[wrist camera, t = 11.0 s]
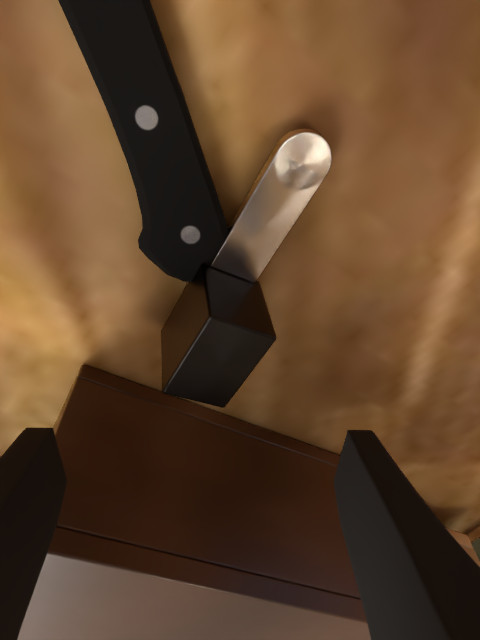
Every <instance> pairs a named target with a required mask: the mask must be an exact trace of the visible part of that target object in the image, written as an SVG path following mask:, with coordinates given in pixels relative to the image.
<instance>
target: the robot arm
mask: <svg viewBox="0 0 480 640" xmlns="http://www.w3.org/2000/svg"><path fill="white" fill-rule="evenodd" d="M333 481H334V488H335V494H336V501H337V507H338V513H339V519H340V524H341V528H342V532H343V535H344V539H345V543H346V547H347V550H348V554H349V558H350V561H351V565H352V568H353V572H354V576H355V579H356V583H357V587H358V590H359V594H360V598H361V601H362V605H363V608H364V612H365V616H366V620H367V624H368V628H369V633H370V637H371V640H480V567H479V566H478V564H477V563H476V562H475V561H474V560H473V559H472V558H471V557H470V556H469V554H468V553H467V552H466V551H465V550H464V549H463V548H462V546H461V545H460V544H459V543H458V542H457V541H456V539H455V538H454V537H453V536H452V535H451V534H450V532H449V531H448V530H447V529H446V528H445V526H444V525H443V524H442V523H441V522H440V520H439V519H438V518H437V517H436V515H435V514H434V513H433V512H432V510H431V509H430V508H429V507H428V505H427V504H426V503H425V501H424V500H423V499H422V498H421V496H420V495H419V494H418V493H417V491H416V490H415V489H414V487H413V486H412V485H411V483H410V482H409V481H408V479H407V478H406V477H405V475H404V474H403V472H402V471H401V470H400V468H399V467H398V466H397V464H396V463H395V462H394V460H393V459H392V457H391V456H390V455H389V453H388V452H387V450H386V449H385V447H384V446H383V445H382V443H381V442H380V440H379V439H378V437H377V436H376V435H375V433H374V432H373V431H372V430H348V431H347V435H346V438H345V442H344V445H343V449H342V452H341V456H340V459H339V463H338V466H337V470H336V473H335V477H334V480H333ZM66 484H67V477H66V474H65V470H64V467H63V463H62V459H61V456H60V452H59V449H58V445H57V441H56V438H55V434H54V431H53V428H26V429H25V430H24V431H23V432H22V433H21V434H20V435H19V436H18V438H17V439H16V440H15V441H14V442H13V443H12V445H11V446H10V447H9V448H8V449H7V450H6V452H5V453H4V454H3V455H2V456H1V457H0V640H17V639H18V636H19V633H20V629H21V626H22V623H23V620H24V617H25V614H26V612H27V609H28V606H29V603H30V600H31V598H32V595H33V592H34V589H35V586H36V583H37V581H38V578H39V575H40V572H41V569H42V567H43V564H44V561H45V558H46V555H47V552H48V549H49V547H50V544H51V541H52V538H53V535H54V532H55V529H56V526H57V523H58V519H59V515H60V511H61V507H62V503H63V498H64V493H65V489H66Z"/></svg>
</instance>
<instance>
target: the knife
mask: <svg viewBox="0 0 480 640" xmlns="http://www.w3.org/2000/svg"><path fill="white" fill-rule="evenodd" d="M331 162H332V152H331V148H330V146H329V144H328V142H327V141H326V140H325V138H324V137H323V136H322V135H321V134H320V133H318V132H317V131H315V130H312V129H307V128H302V129H296V130H293V131H291V132H289V133H287V134H286V135H285V136H283V137H282V138H281V139H280V140H279V142H278V143H277V145H276V146H275V148H274V150H273V151H272V153H271V155H270V157H269V158H268V160H267V162H266V164H265V165H264V167H263V169H262V170H261V172H260V174H259V176H258V177H257V179H256V181H255V183H254V184H253V186H252V188H251V190H250V191H249V193H248V195H247V197H246V198H245V200H244V202H243V203H242V205H241V207H240V209H239V210H238V212H237V214H236V216H235V217H234V219H233V221H232V223H231V224H230V226H229V228H228V233H227V235H226V238H225V240H224V242H223V244H222V246H221V248H220V249H219V251H218V253H217V255H216V257H215V258H214V260H213V262H212V264H211V266H209V265H206V264H203V263H202V264H201V265H200V267H199V269H198V271H197V272H196V274H195V276H194V278H193V280H192V281H191V282H188V284H187V286H186V287H185V289H184V291H183V293H182V295H181V296H180V298H179V300H178V302H177V303H176V305H175V307H174V309H173V311H172V312H171V314H170V316H169V318H168V319H167V321H166V323H165V325H164V327H163V328H162V330H161V354H162V392H163V393H165V394H169V395H173V396H177V397H181V398H185V399H189V400H194V401H198V402H202V403H206V404H210V405H214V406H218V407H222V408H223V407H225V406H226V405H227V403H228V402H229V401H230V399H231V398H232V397H233V396H234V394H235V393H236V392H237V390H238V389H239V388H240V386H241V385H242V384H243V382H244V381H245V380H246V378H247V377H248V376H249V374H250V373H251V372H252V371H253V369H254V368H255V367H256V365H257V364H258V363H259V361H260V360H261V359H262V357H263V356H264V355H265V353H266V352H267V351H268V350H269V348H270V347H271V346H272V344H273V343H274V342H275V340H276V334H275V331H274V328H273V324H272V321H271V318H270V315H269V311H268V308H267V305H266V302H265V299H264V295H263V292H262V289H261V286H260V283H259V281H257V279H258V278H259V276H260V275H261V273H262V272H263V270H264V269H265V267H266V266H267V264H268V263H269V261H270V260H271V258H272V257H273V255H274V254H275V252H276V251H277V249H278V248H279V246H280V245H281V243H282V242H283V240H284V239H285V237H286V236H287V234H288V233H289V231H290V230H291V228H292V226H293V225H294V223H295V222H296V220H297V219H298V217H299V216H300V214H301V213H302V211H303V210H304V208H305V207H306V205H307V204H308V202H309V201H310V199H311V198H312V196H313V195H314V193H315V192H316V190H317V189H318V187H319V186H320V184H321V183H322V181H323V180H324V178H325V177H326V175H327V173H328V172H329V169H330V166H331ZM215 268H217V269H215Z"/></svg>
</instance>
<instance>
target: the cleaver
mask: <svg viewBox="0 0 480 640" xmlns="http://www.w3.org/2000/svg"><path fill="white" fill-rule="evenodd" d="M59 3H60V5H61V7H62V9H63V11H64V14H65V16H66V18H67V20H68V22H69V25H70V27H71V29H72V31H73V34H74V36H75V38H76V40H77V43H78V45H79V47H80V49H81V52H82V54H83V56H84V58H85V61H86V63H87V65H88V67H89V70H90V72H91V74H92V76H93V79H94V81H95V83H96V85H97V88H98V90H99V92H100V94H101V97H102V99H103V101H104V104H105V106H106V109H107V111H108V113H109V116H110V118H111V121H112V124H113V126H114V129H115V131H116V134H117V137H118V139H119V142H120V144H121V147H122V150H123V152H124V155H125V157H126V160H127V163H128V166H129V169H130V172H131V176H132V179H133V182H134V185H135V188H136V192H137V196H138V201H139V205H140V209H141V214H142V223H143V229H142V232H141V234H140V237H139V239H138V243H139V248H140V249H141V251H142V252H143V253H144V254H145V255H146V256H147V258H149V259H150V260H151V261H152V262H153V263H154V264H156V265H157V266H158V267H159V268H160V269H161V270H163V271H164V272H165V273H166V274H167V275H169V276H172V277H175V278H178V279H180V280H182V281H187V282H191V281H192V280H193V278H194V276H195V274H196V272H197V271H198V269H199V267H200V265H201V264H202V263H203V264H206V265H209V266H211V264H212V262H213V260H214V258H215V257H216V255H217V253H218V251H219V249H220V248H221V246H222V244H223V242H224V240H225V238H226V235H227V233H228V227H227V224H226V220H225V217H224V214H223V210H222V207H221V204H220V201H219V198H218V195H217V192H216V189H215V186H214V184H213V181H212V178H211V175H210V173H209V170H208V167H207V164H206V161H205V158H204V155H203V152H202V149H201V146H200V143H199V140H198V137H197V134H196V131H195V128H194V125H193V122H192V119H191V116H190V113H189V110H188V107H187V104H186V101H185V98H184V95H183V92H182V89H181V87H180V84H179V82H178V79H177V76H176V74H175V71H174V68H173V65H172V63H171V60H170V57H169V54H168V51H167V48H166V46H165V43H164V40H163V37H162V34H161V31H160V28H159V26H158V23H157V20H156V17H155V14H154V11H153V8H152V6H151V3H150V0H59ZM215 269H217V268H215Z"/></svg>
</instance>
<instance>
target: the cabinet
mask: <svg viewBox="0 0 480 640" xmlns="http://www.w3.org/2000/svg"><path fill="white" fill-rule="evenodd" d="M53 431H54V434H55V438H56V441H57V445H58V449H59V452H60V456H61V459H62V463H63V467H64V470H65V474H66V477H67V484H66V489H65V493H64V498H63V503H62V507H61V511H60V515H59V519H58V523H57V526H56V529H55V532H54V535H53V538H52V541H51V544H50V547H49V549H48V552H47V555H46V558H45V561H44V564H43V567H42V569H41V572H40V575H39V578H38V581H37V583H36V586H35V589H34V592H33V595H32V598H31V600H30V603H29V606H28V609H27V612H26V614H25V617H24V620H23V623H22V626H21V629H20V633H19V636H18V639H17V640H371V637H370V633H369V628H368V624H367V620H366V616H365V612H364V608H363V605H362V601H361V598H360V594H359V590H358V587H357V583H356V579H355V576H354V572H353V568H352V565H351V561H350V558H349V554H348V550H347V547H346V543H345V539H344V535H343V532H342V528H341V524H340V519H339V513H338V507H337V501H336V494H335V488H334V481H333V480H334V477H335V473H336V470H337V466H338V463H339V459H340V456H339V455H336V454H333V453H330V452H328V451H325V450H322V449H319V448H316V447H314V446H311V445H308V444H305V443H302V442H300V441H297V440H294V439H291V438H288V437H285V436H283V435H280V434H277V433H274V432H271V431H269V430H266V429H263V428H260V427H257V426H255V425H252V424H249V423H246V422H243V421H241V420H238V419H235V418H232V417H229V416H226V415H224V414H221V413H218V412H215V411H212V410H210V409H207V408H204V407H201V406H198V405H196V404H193V403H190V402H187V401H184V400H182V399H179V398H176V397H173V396H170V395H167V394H165V393H162V392H159V391H156V390H153V389H151V388H148V387H145V386H142V385H139V384H137V383H134V382H131V381H128V380H125V379H123V378H120V377H117V376H114V375H111V374H108V373H106V372H103V371H100V370H97V369H94V368H92V367H89V366H86V365H82V366H81V368H80V370H79V373H78V375H77V377H76V379H75V381H74V383H73V386H72V388H71V390H70V392H69V394H68V396H67V399H66V401H65V403H64V405H63V407H62V409H61V412H60V414H59V416H58V418H57V420H56V422H55V425H54V427H53Z"/></svg>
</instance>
